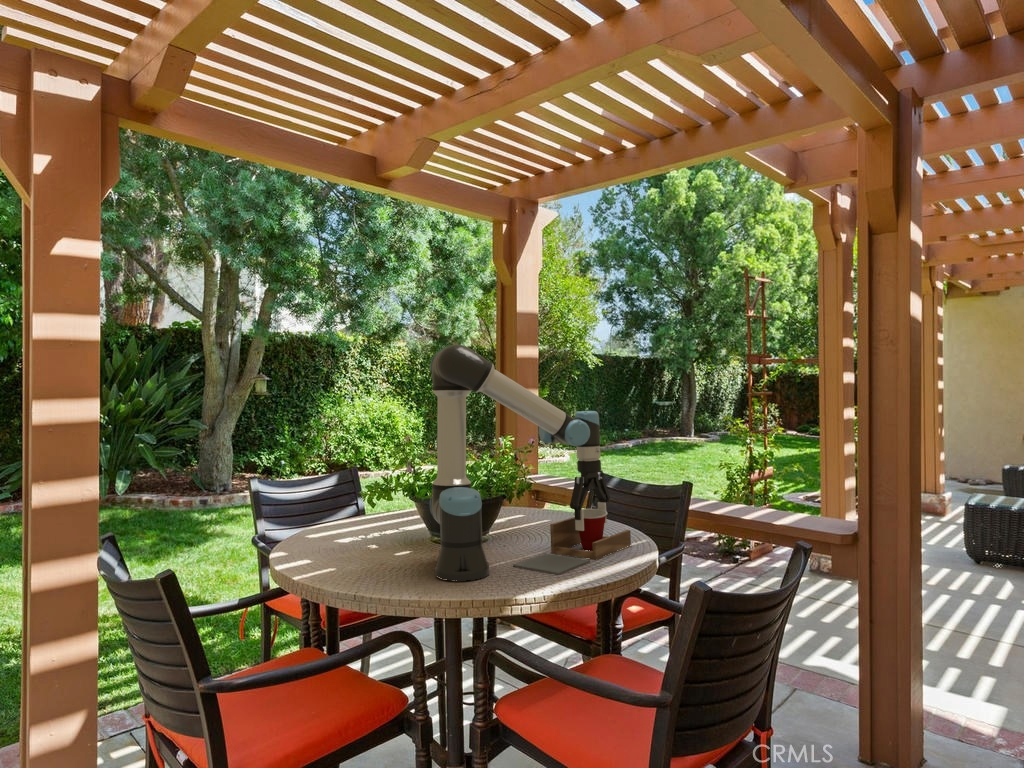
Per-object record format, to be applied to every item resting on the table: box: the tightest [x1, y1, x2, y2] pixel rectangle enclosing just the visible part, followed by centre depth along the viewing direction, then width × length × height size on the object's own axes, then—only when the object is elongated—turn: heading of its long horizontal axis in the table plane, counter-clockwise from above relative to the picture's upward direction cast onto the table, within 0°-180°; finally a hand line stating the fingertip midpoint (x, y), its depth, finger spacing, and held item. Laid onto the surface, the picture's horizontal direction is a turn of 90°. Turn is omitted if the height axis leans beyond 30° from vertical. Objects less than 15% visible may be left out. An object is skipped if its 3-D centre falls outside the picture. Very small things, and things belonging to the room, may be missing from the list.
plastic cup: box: [573, 508, 608, 552], centre depth 208 cm, size 11×11×12 cm
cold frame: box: [549, 516, 632, 560], centre depth 208 cm, size 16×21×9 cm
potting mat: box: [512, 553, 591, 576], centre depth 190 cm, size 16×16×1 cm
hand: (591, 526), depth 208 cm, fingers open, 13 cm apart
